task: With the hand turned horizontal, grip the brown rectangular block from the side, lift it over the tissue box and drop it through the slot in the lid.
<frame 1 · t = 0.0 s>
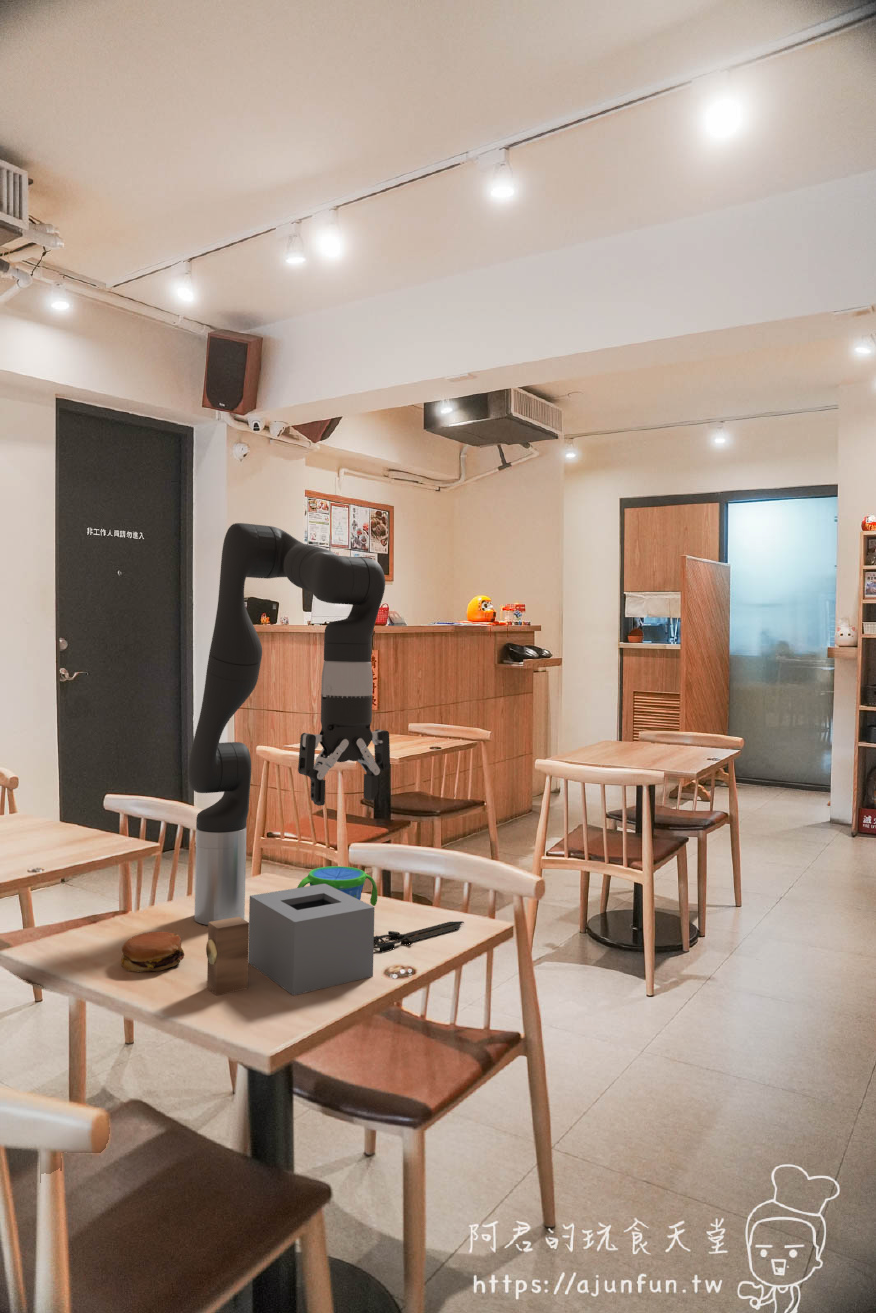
hand: (344, 802, 130), 29 cm above the table, tool pointing down, fingers open, 8 cm apart
burger: (152, 965, 143), on the table
brown rectangular block: (227, 987, 134), on the table
snack cup: (335, 928, 163), on the table
tissue box: (309, 969, 142), on the table
knife: (412, 940, 159), on the table
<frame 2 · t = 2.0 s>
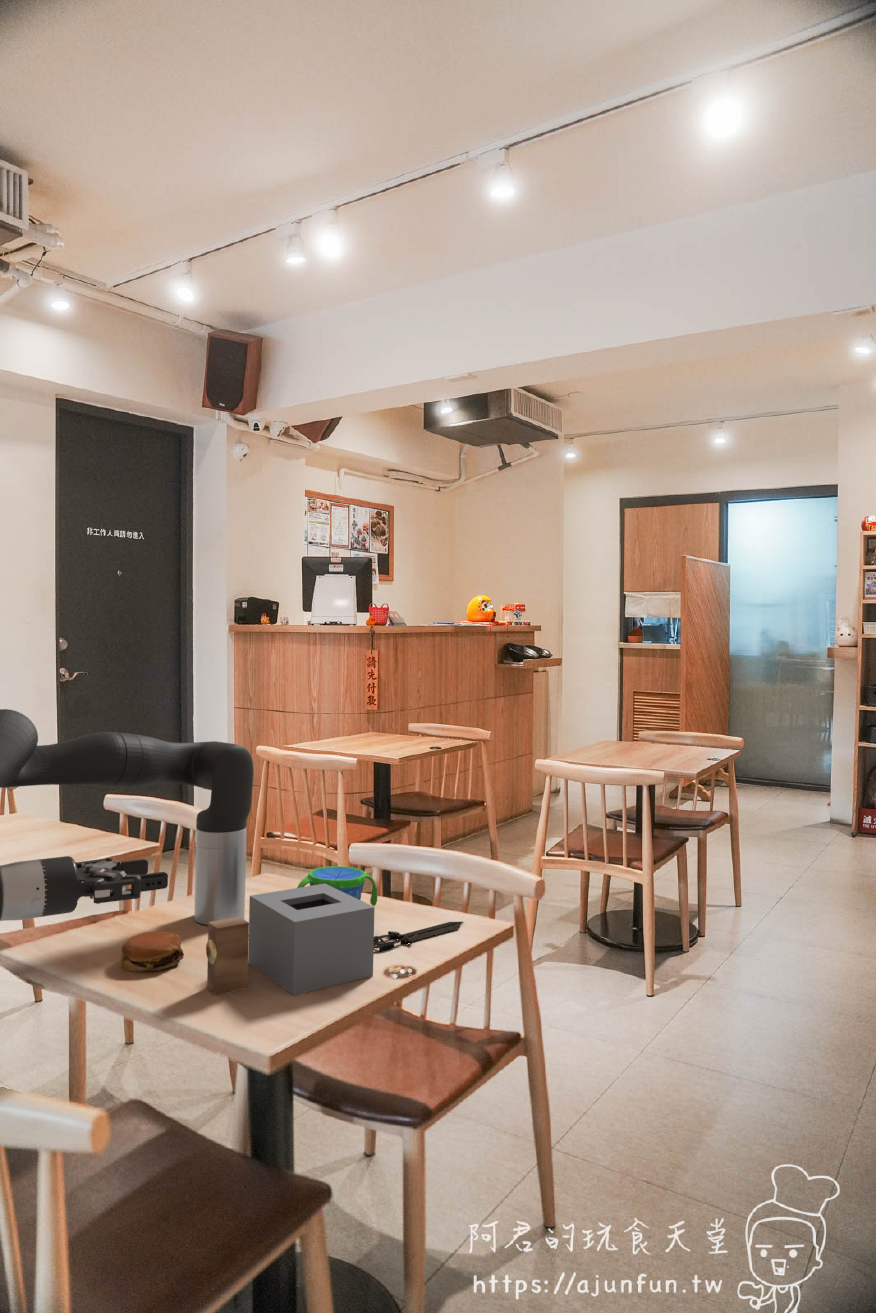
hand: (156, 872, 127), 19 cm above the table, tool horizontal, fingers open, 8 cm apart
nothing on the table moved.
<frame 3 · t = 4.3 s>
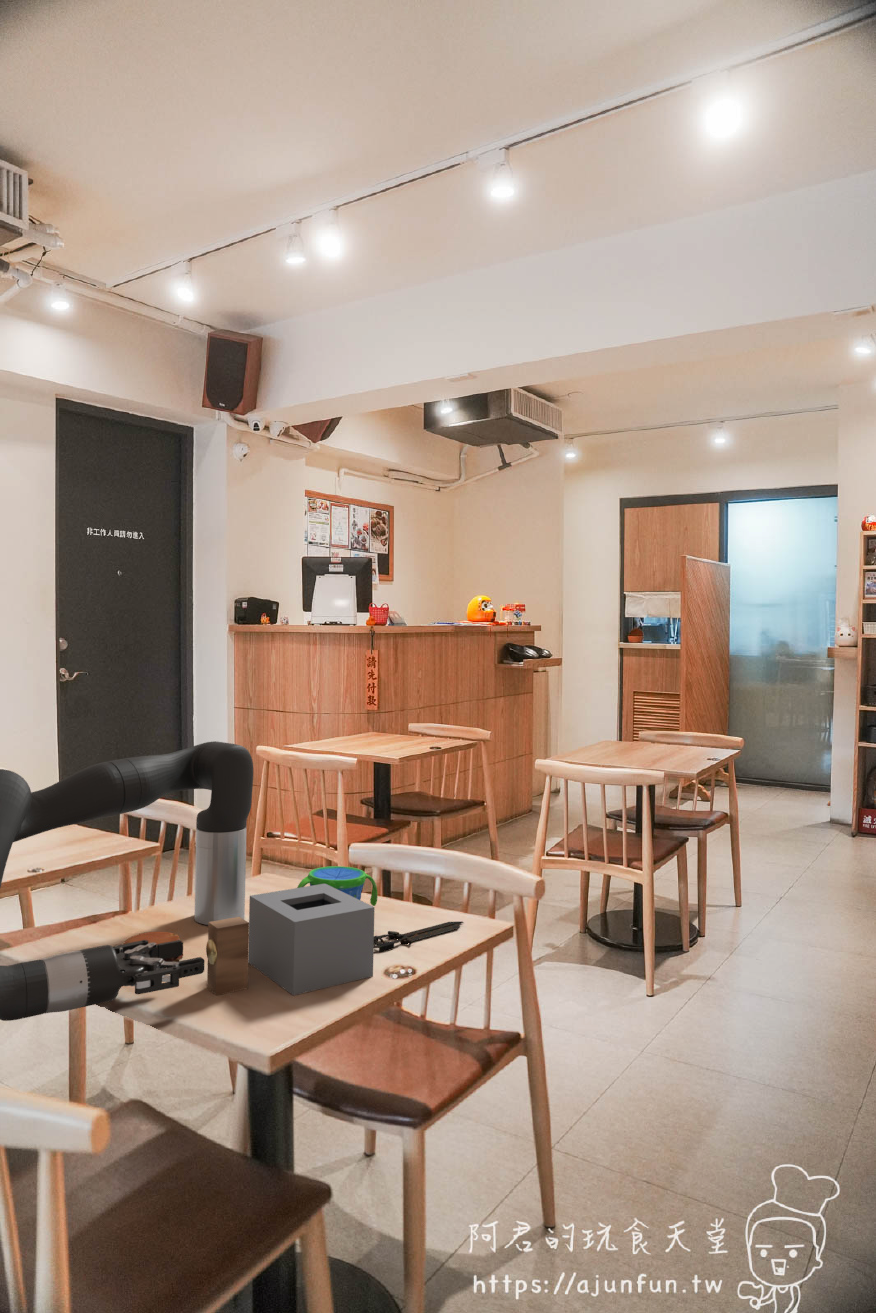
hand: (192, 955, 131), 6 cm above the table, tool horizontal, fingers open, 8 cm apart
nothing on the table moved.
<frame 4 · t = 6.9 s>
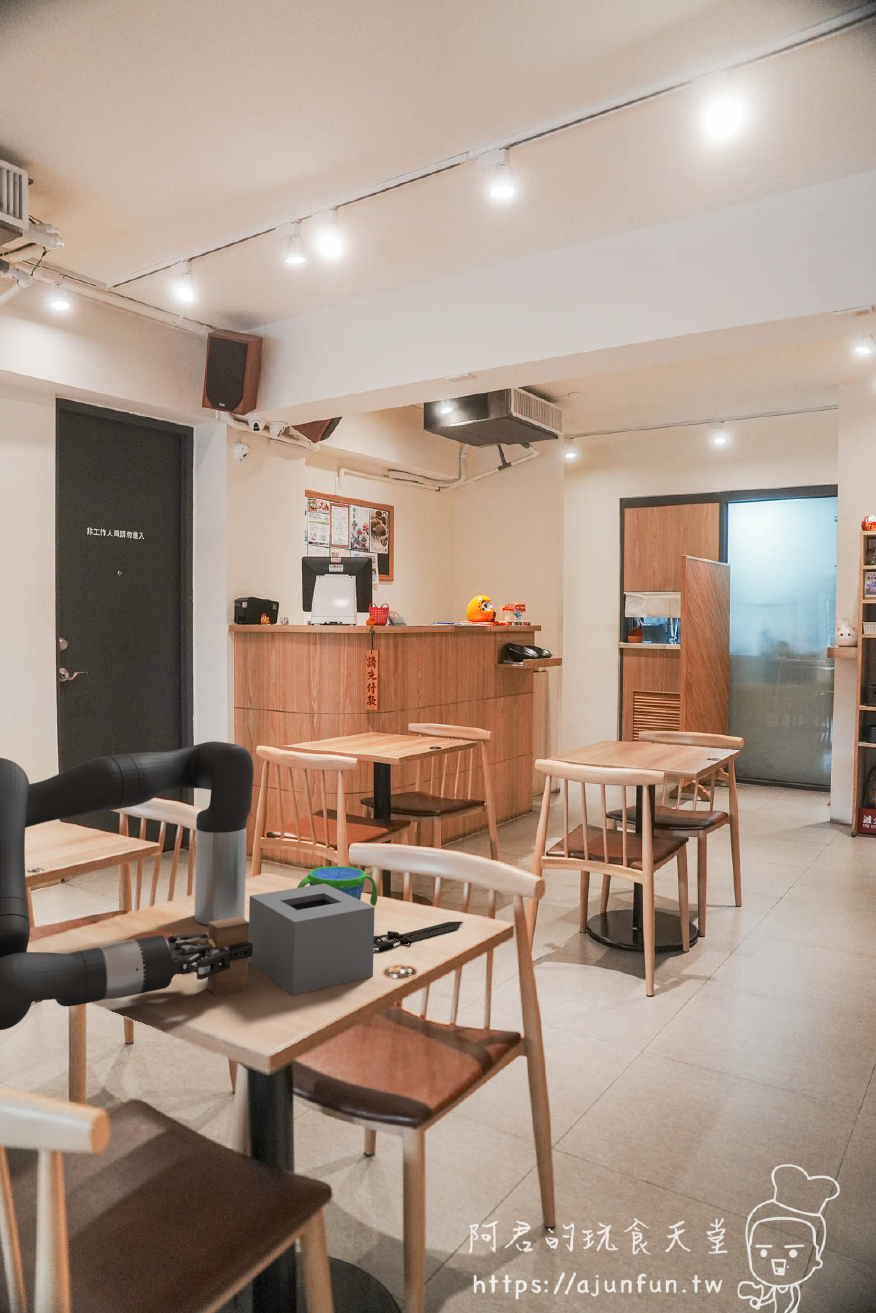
hand: (245, 944, 136), 6 cm above the table, tool horizontal, fingers closed on brown rectangular block, 3 cm apart
brown rectangular block: (227, 987, 134), on the table, touching gripper
everything else where it was.
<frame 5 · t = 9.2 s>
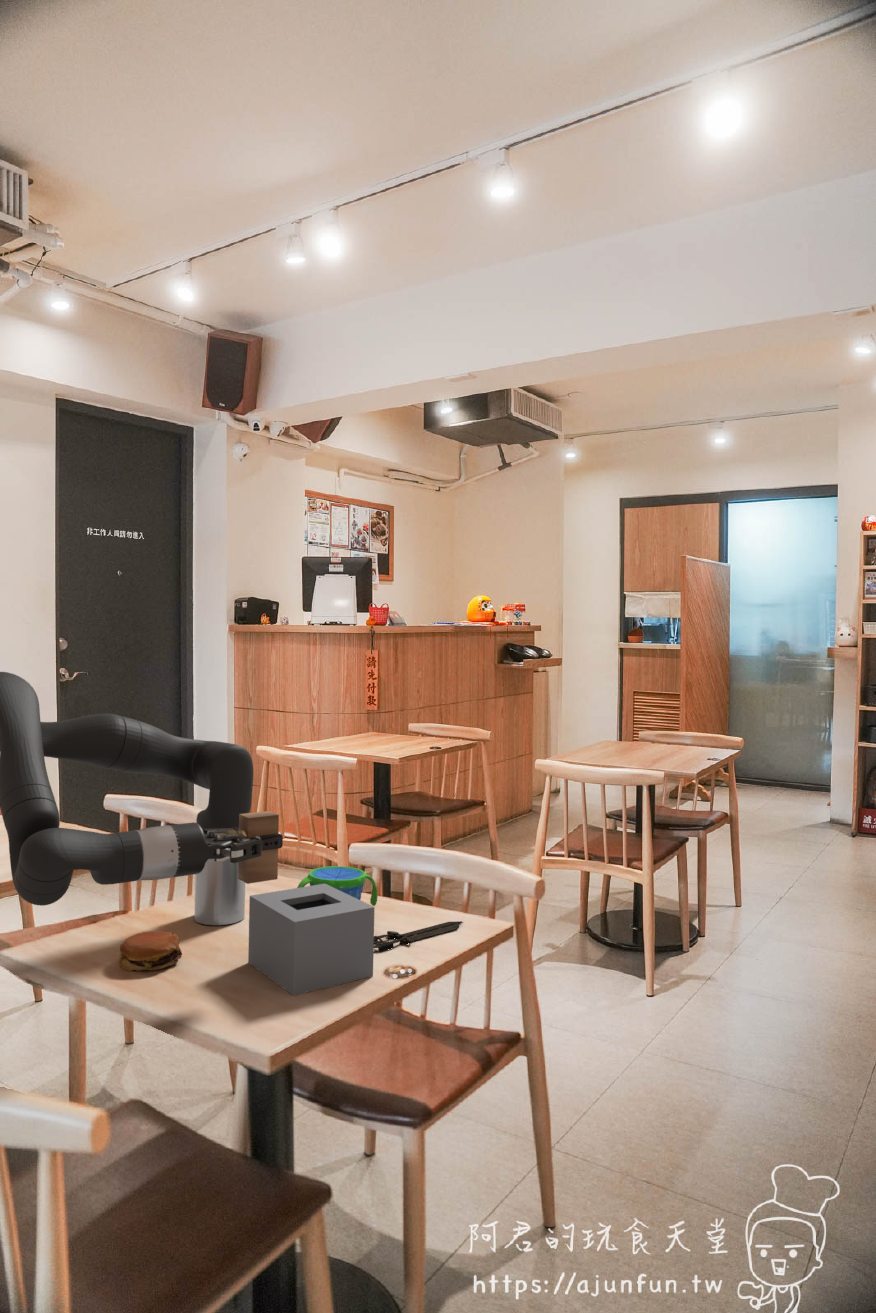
hand: (275, 837, 138), 22 cm above the table, tool horizontal, fingers closed on brown rectangular block, 3 cm apart
brown rectangular block: (257, 878, 136), point 16 cm above the table, touching gripper
everything else where it was.
when the fingers open (16 cm above the table, at t = 11.9 s): brown rectangular block drops 9 cm, resting on tissue box.
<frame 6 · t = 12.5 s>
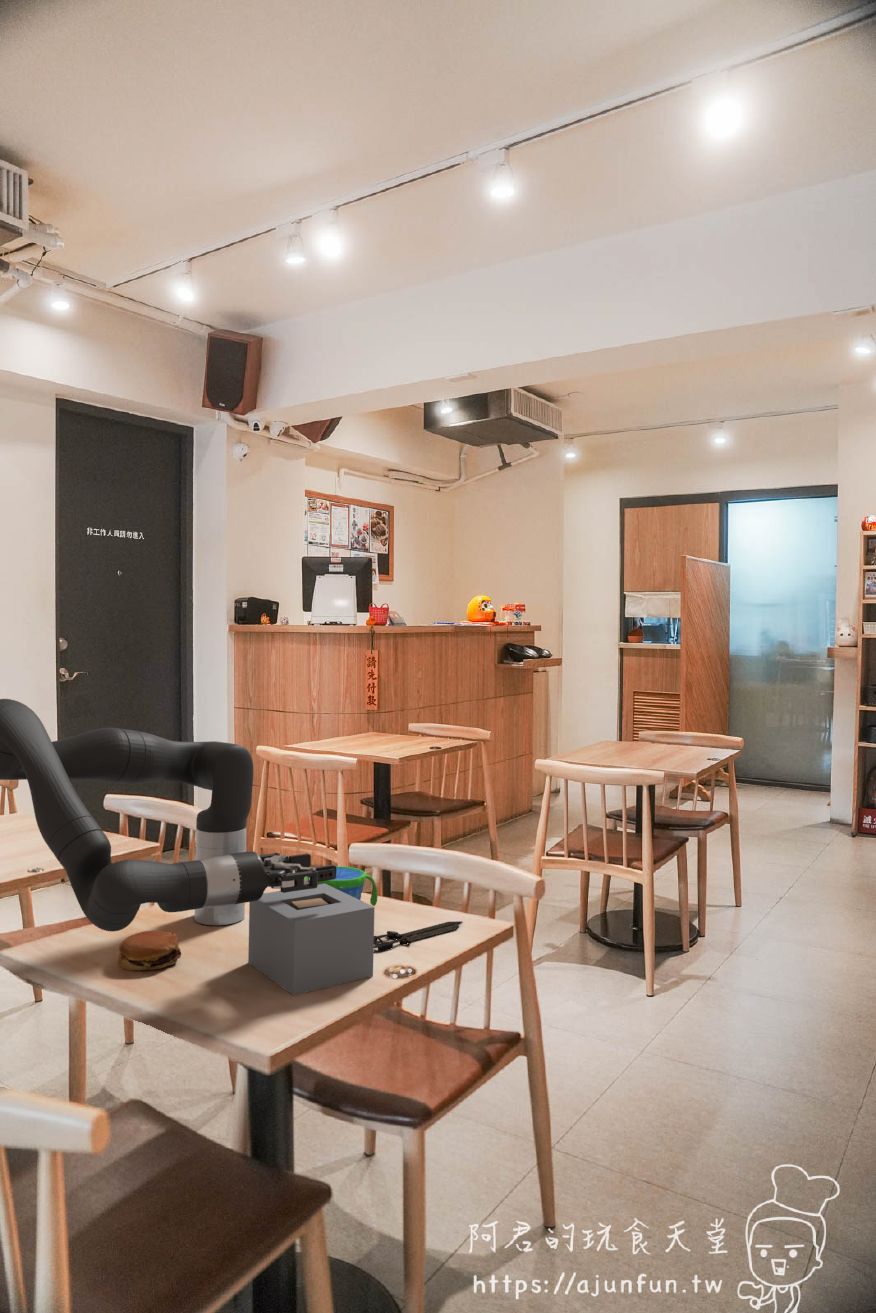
hand: (322, 865, 143), 17 cm above the table, tool horizontal, fingers open, 8 cm apart
brown rectangular block: (308, 964, 141), point 1 cm above the table, touching tissue box
everything else where it was.
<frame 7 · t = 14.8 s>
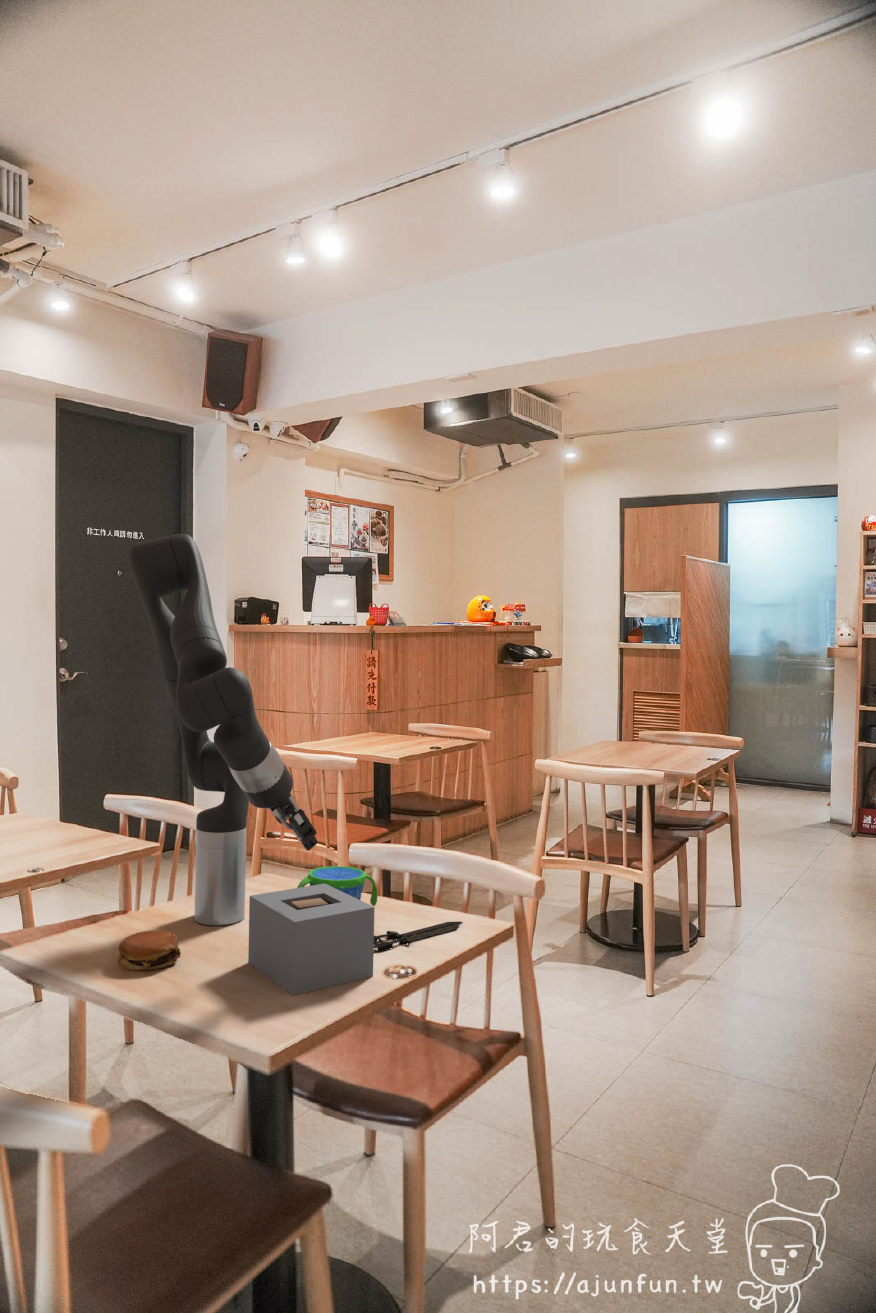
hand: (297, 832, 146), 21 cm above the table, tool tilted 45°, fingers open, 8 cm apart
nothing on the table moved.
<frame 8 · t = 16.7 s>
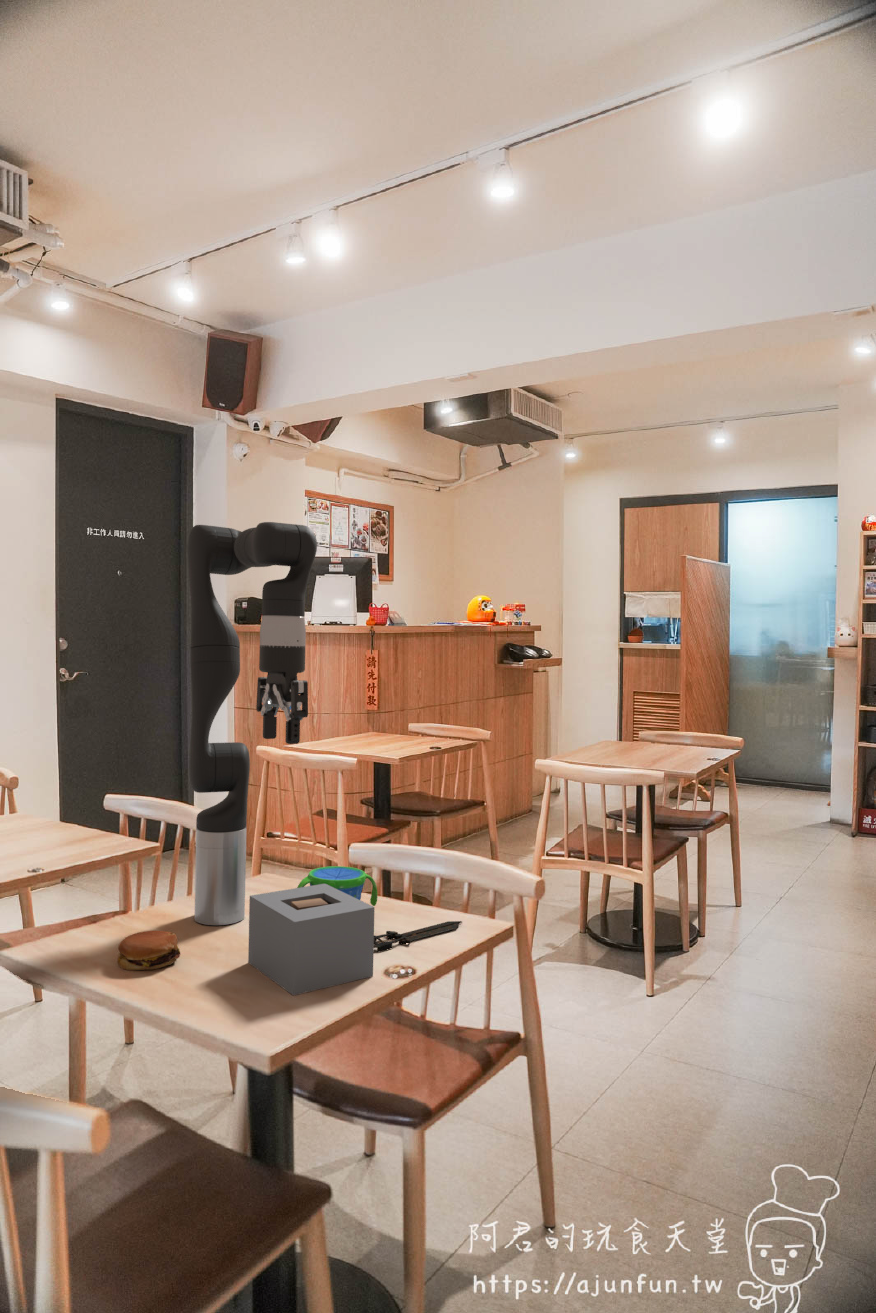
hand: (280, 741, 147), 36 cm above the table, tool pointing down, fingers open, 8 cm apart
at the end: brown rectangular block inside the target area on the tissue box (0.8 cm from its centre), point 1.0 cm above the tissue box's base; the gripper is holding nothing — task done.
